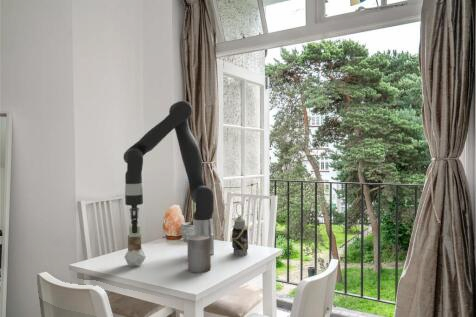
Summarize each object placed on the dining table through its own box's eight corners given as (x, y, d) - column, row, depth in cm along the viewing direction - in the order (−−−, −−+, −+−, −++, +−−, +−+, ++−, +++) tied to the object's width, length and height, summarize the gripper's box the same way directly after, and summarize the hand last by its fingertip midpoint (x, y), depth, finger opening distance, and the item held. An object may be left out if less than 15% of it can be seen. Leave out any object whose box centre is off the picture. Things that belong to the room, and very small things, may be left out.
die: (134, 271, 150) (147, 251, 153) (117, 260, 151) (131, 241, 154) (139, 272, 157) (151, 253, 160) (123, 262, 159) (136, 243, 162)
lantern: (251, 254, 169) (250, 202, 169) (237, 257, 166) (236, 204, 165) (242, 250, 177) (241, 200, 177) (228, 252, 173) (227, 202, 173)
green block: (140, 234, 159) (139, 224, 159) (140, 236, 154) (139, 226, 154) (129, 235, 157) (129, 225, 157) (129, 237, 153) (129, 227, 153)
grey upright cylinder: (205, 264, 155) (204, 230, 155) (214, 270, 147) (213, 234, 146) (184, 268, 151) (183, 233, 151) (192, 274, 142) (191, 237, 142)
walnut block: (140, 246, 159) (140, 234, 159) (141, 249, 154) (140, 236, 154) (128, 247, 158) (128, 235, 158) (128, 250, 152) (127, 237, 152)
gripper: (142, 194, 150) (143, 234, 150) (142, 191, 164) (143, 228, 164) (124, 195, 148) (125, 235, 148) (125, 192, 162) (126, 229, 162)
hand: (134, 231), depth 156 cm, fingers open, 5 cm apart
